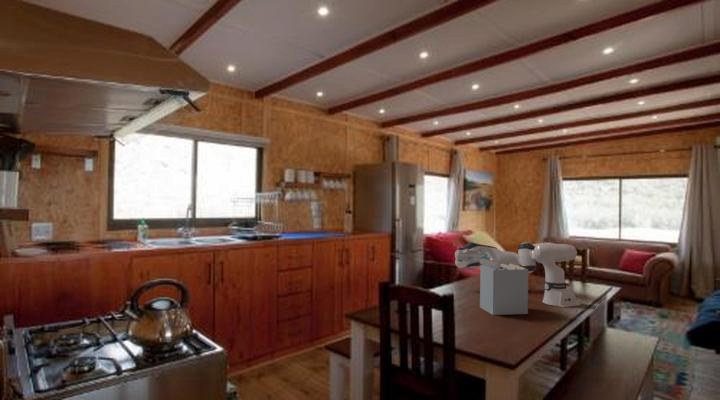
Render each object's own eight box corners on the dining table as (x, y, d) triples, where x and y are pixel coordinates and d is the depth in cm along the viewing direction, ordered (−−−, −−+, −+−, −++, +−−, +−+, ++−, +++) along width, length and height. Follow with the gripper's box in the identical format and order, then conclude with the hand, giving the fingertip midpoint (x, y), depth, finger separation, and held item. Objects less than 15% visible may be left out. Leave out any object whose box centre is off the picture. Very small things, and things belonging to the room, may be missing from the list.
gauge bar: (484, 263, 242) (484, 258, 242) (500, 268, 222) (500, 263, 222) (479, 263, 241) (479, 258, 241) (495, 268, 222) (495, 263, 222)
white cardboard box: (512, 306, 236) (513, 263, 236) (527, 313, 220) (528, 268, 221) (479, 307, 233) (480, 264, 233) (492, 315, 217) (493, 268, 217)
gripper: (481, 260, 267) (489, 254, 255) (454, 260, 264) (461, 254, 252) (479, 252, 270) (488, 245, 258) (452, 252, 267) (459, 245, 255)
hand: (474, 249), depth 255 cm, fingers open, 8 cm apart
